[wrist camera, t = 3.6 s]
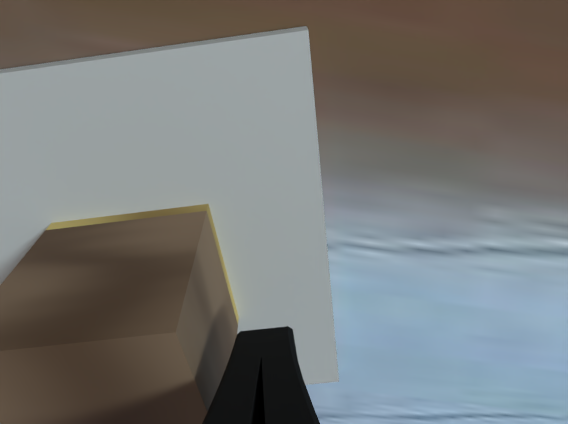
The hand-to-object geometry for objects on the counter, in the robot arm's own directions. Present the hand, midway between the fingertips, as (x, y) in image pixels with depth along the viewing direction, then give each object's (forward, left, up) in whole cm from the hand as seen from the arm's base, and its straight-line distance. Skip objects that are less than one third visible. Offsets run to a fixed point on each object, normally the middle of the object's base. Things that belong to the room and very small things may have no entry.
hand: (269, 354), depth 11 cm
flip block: (-4, 0, -4) cm, 6 cm away
